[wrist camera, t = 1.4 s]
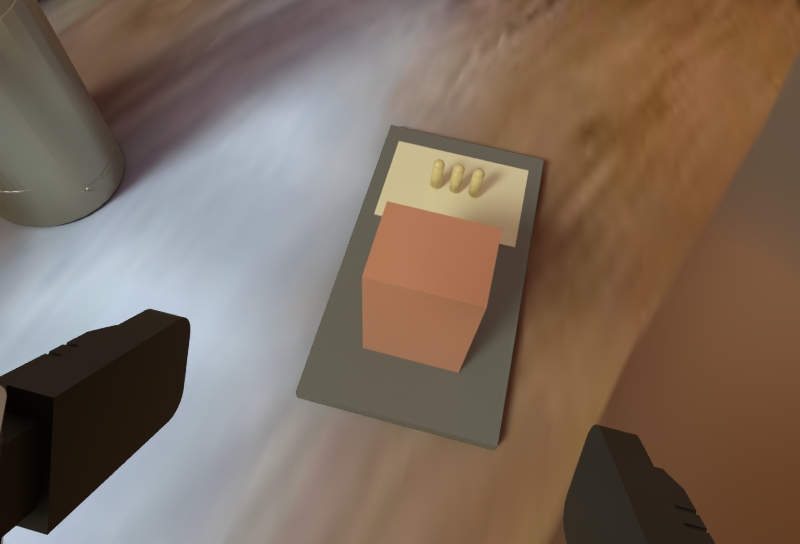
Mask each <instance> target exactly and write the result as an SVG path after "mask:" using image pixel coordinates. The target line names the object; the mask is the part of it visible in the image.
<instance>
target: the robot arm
mask: <svg viewBox="0 0 800 544" xmlns="http://www.w3.org/2000/svg"><path fill="white" fill-rule="evenodd" d="M123 172H124V157H123V155H122V152H121V150H120V148H119V146H118V144H117V142H116V140H115V139H114V137H113V135H112V133H111V131H110V130H109V128H108V126H107V124H106V123H105V121H104V119H103V117H102V115H101V114H100V112H99V110H98V108H97V106H96V104H95V102H94V101H93V99H92V97H91V95H90V94H89V92H88V90H87V88H86V87H85V85H84V83H83V81H82V79H81V78H80V76H79V74H78V72H77V71H76V69H75V67H74V65H73V63H72V62H71V60H70V58H69V56H68V55H67V53H66V51H65V49H64V48H63V46H62V44H61V42H60V40H59V39H58V37H57V35H56V33H55V32H54V30H53V28H52V26H51V24H50V23H49V21H48V19H47V17H46V16H45V14H44V12H43V10H42V9H41V7H40V5H39V3H38V1H37V0H0V215H1V216H2V217H4V218H6V219H8V220H10V221H11V222H13V223H17V224H20V225H24V226H31V227H49V226H57V225H61V224H65V223H69V222H72V221H75V220H77V219H79V218H82V217H84V216H86V215H88V214H89V213H91V212H93V211H94V210H96V209H97V208H99V207H100V206H101V205H102V204H103V203H105V202H106V201H107V200H108V199H109V198H110V197H111V195H112V194H113V193H114V192H115V190H116V189H117V187H118V185H119V183H120V181H121V179H122V176H123ZM189 339H190V323H189V320H188V319H187V318H184V317H180V316H176V315H173V314H169V313H165V312H161V311H157V310H153V309H147V310H145V311H143V312H141V313H139V314H137V315H136V316H134V317H132V318H130V319H128V320H126V321H124V322H123V323H121V324H119V325H114V326H110V327H106V328H101V329H97V330H93V331H89V332H86V333H84V334H82V335H81V336H79V337H77V338H75V339H73V340H71V341H69V342H67V344H66V345H61V346H59V347H57V348H55V349H53V350H51V351H49V354H43V355H41V356H40V357H38V358H36V359H34V360H32V361H30V362H28V363H26V364H24V365H22V366H20V367H18V368H16V369H14V370H12V371H10V372H8V373H6V374H4V375H2V376H0V544H3V536H4V535H5V534H7V533H8V532H9V531H10V530H11V529H12V528H14V527H15V526H19V527H23V528H26V529H29V530H33V531H36V532H40V533H43V534H46V535H48V534H49V533H50V532H51V531H52V530H53V529H54V528H55V527H56V526H57V525H58V524H59V523H60V522H62V521H63V520H64V519H65V518H66V517H67V516H68V515H69V514H70V513H71V512H72V511H73V510H74V509H75V508H76V507H78V506H79V505H80V504H81V503H82V502H83V501H84V500H85V499H86V498H87V497H88V496H89V495H90V494H91V493H93V492H94V491H95V490H96V489H97V488H98V487H99V486H100V485H101V484H102V483H103V482H104V481H105V480H106V479H108V478H109V477H110V476H111V475H112V474H113V473H114V472H115V471H116V470H117V469H118V468H119V467H120V466H121V465H123V464H124V463H125V462H126V461H127V460H128V459H129V458H130V457H131V456H132V455H133V454H134V453H135V452H136V451H137V450H139V449H140V448H141V447H142V446H143V445H144V444H145V443H146V442H147V441H148V440H149V439H150V438H151V437H152V436H154V435H155V434H156V433H157V432H158V431H159V430H160V429H161V428H162V427H163V426H164V425H165V424H166V423H167V422H168V421H169V420H170V419H171V418H172V417H173V415H174V414H175V412H176V410H177V408H178V406H179V404H180V401H181V398H182V395H183V390H184V382H185V373H186V365H187V356H188V348H189ZM563 525H564V532H565V537H566V541H567V544H715V543H714V541H713V539H712V537H711V536H710V534H709V533H706V530H707V529H706V527H705V525H704V523H703V522H702V520H701V518H700V516H699V515H696V509H695V508H694V506H693V504H692V503H691V501H690V499H689V497H688V496H687V494H686V492H685V491H684V489H683V488H682V487H681V486H680V485H679V484H678V483H677V482H676V481H674V480H673V479H672V478H671V477H670V476H669V475H668V474H667V473H666V472H665V471H664V470H663V469H661V468H657V467H654V466H653V464H652V462H651V460H650V458H649V456H648V455H647V452H646V450H645V448H644V446H643V445H642V443H641V441H640V439H639V437H638V436H637V435H635V434H631V433H627V432H623V431H619V430H615V429H611V428H608V427H604V426H600V425H594V426H593V427H592V428H591V429H590V431H589V433H588V435H587V438H586V441H585V444H584V447H583V450H582V453H581V456H580V458H579V461H578V464H577V467H576V470H575V473H574V476H573V479H572V482H571V485H570V488H569V490H568V493H567V497H566V501H565V507H564V516H563Z"/></svg>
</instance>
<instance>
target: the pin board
mask: <svg viewBox="0 0 800 544" xmlns="http://www.w3.org/2000/svg"><path fill="white" fill-rule="evenodd" d="M543 162H544V160H543V159H539V158H535V157H530V156H526V155H521V154H517V153H513V152H508V151H504V150H499V149H495V148H490V147H486V146H482V145H477V144H473V143H468V142H464V141H460V140H455V139H451V138H446V137H442V136H438V135H433V134H429V133H424V132H420V131H415V130H411V129H407V128H402V127H398V126H393V125H391V127H390V130H389V132H388V135H387V138H386V141H385V144H384V146H383V149H382V152H381V155H380V158H379V160H378V163H377V166H376V169H375V172H374V174H373V177H372V180H371V183H370V186H369V188H368V191H367V194H366V197H365V200H364V202H363V205H362V208H361V211H360V214H359V216H358V219H357V222H356V225H355V228H354V230H353V233H352V236H351V239H350V242H349V245H348V247H347V250H346V253H345V256H344V259H343V261H342V264H341V267H340V270H339V273H338V275H337V278H336V281H335V284H334V287H333V289H332V292H331V295H330V298H329V301H328V303H327V306H326V309H325V312H324V315H323V317H322V320H321V323H320V326H319V329H318V331H317V334H316V337H315V340H314V343H313V345H312V348H311V351H310V354H309V357H308V359H307V362H306V365H305V368H304V371H303V373H302V376H301V379H300V382H299V385H298V387H297V390H296V395H297V397H298V398H301V399H305V400H309V401H312V402H316V403H320V404H324V405H327V406H331V407H335V408H338V409H342V410H346V411H350V412H353V413H357V414H361V415H365V416H368V417H372V418H376V419H379V420H383V421H387V422H391V423H394V424H398V425H402V426H405V427H409V428H413V429H417V430H420V431H424V432H428V433H432V434H435V435H439V436H443V437H446V438H450V439H454V440H458V441H461V442H465V443H469V444H472V445H476V446H480V447H484V448H487V449H491V450H495V449H496V448H497V447H498V441H499V434H500V428H501V422H502V416H503V410H504V403H505V397H506V391H507V385H508V379H509V373H510V366H511V360H512V354H513V348H514V342H515V335H516V329H517V323H518V317H519V311H520V305H521V298H522V292H523V286H524V280H525V274H526V267H527V261H528V255H529V249H530V243H531V237H532V230H533V224H534V218H535V212H536V206H537V199H538V193H539V187H540V181H541V175H542V169H543ZM387 201H389V202H393V203H397V204H401V205H405V206H410V207H414V208H418V209H422V210H426V211H431V212H435V213H439V214H443V215H447V216H452V217H456V218H460V219H464V220H468V221H473V222H477V223H481V224H485V225H490V226H494V227H498V228H502V231H501V237H500V242H499V247H498V252H497V257H496V262H495V267H494V272H493V278H492V283H491V288H490V293H489V298H488V303H487V308H486V310H485V313H484V315H483V317H482V320H481V322H480V324H479V327H478V329H477V331H476V334H475V336H474V338H473V340H472V343H471V345H470V347H469V350H468V352H467V354H466V357H465V359H464V361H463V364H462V366H461V368H460V371H459V373H458V372H454V371H450V370H446V369H442V368H438V367H434V366H431V365H427V364H423V363H419V362H415V361H411V360H407V359H404V358H400V357H396V356H392V355H388V354H384V353H380V352H377V351H373V350H369V349H365V348H363V322H362V275H363V272H364V269H365V266H366V263H367V260H368V257H369V254H370V251H371V248H372V245H373V242H374V239H375V236H376V233H377V230H378V227H379V224H380V221H381V218H382V215H383V212H384V209H385V206H386V203H387Z"/></svg>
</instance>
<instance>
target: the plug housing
mask: <svg viewBox="0 0 800 544" xmlns="http://www.w3.org/2000/svg"><path fill="white" fill-rule="evenodd" d="M501 231H502V228H498V227H494V226H490V225H485V224H481V223H477V222H473V221H468V220H464V219H460V218H456V217H452V216H447V215H443V214H439V213H435V212H431V211H426V210H422V209H418V208H414V207H410V206H405V205H401V204H397V203H393V202H389V201H387V203H386V206H385V209H384V212H383V215H382V218H381V221H380V224H379V227H378V230H377V233H376V236H375V239H374V242H373V245H372V248H371V251H370V254H369V257H368V260H367V263H366V266H365V269H364V272H363V275H362V322H363V348H365V349H369V350H373V351H377V352H380V353H384V354H388V355H392V356H396V357H400V358H404V359H407V360H411V361H415V362H419V363H423V364H427V365H431V366H434V367H438V368H442V369H446V370H450V371H454V372H458V373H459V371H460V368H461V366H462V364H463V361H464V359H465V357H466V354H467V352H468V350H469V347H470V345H471V343H472V340H473V338H474V336H475V334H476V331H477V329H478V327H479V324H480V322H481V320H482V317H483V315H484V313H485V310H486V308H487V303H488V298H489V293H490V288H491V283H492V278H493V272H494V267H495V262H496V257H497V252H498V247H499V242H500V237H501Z"/></svg>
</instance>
